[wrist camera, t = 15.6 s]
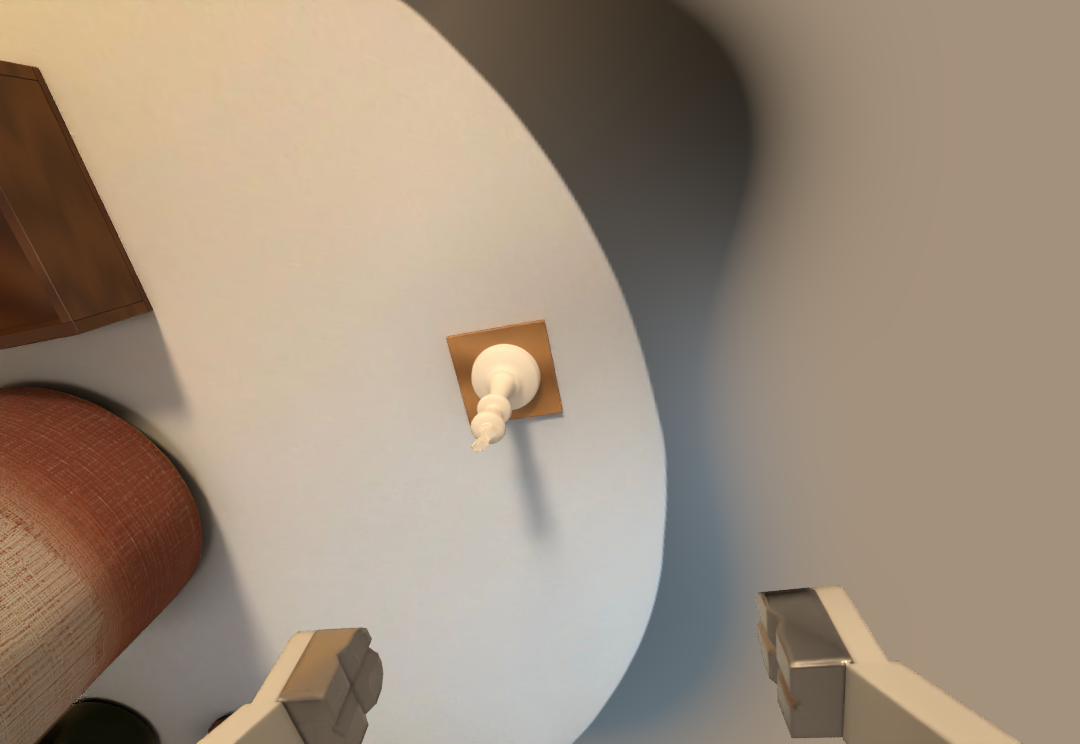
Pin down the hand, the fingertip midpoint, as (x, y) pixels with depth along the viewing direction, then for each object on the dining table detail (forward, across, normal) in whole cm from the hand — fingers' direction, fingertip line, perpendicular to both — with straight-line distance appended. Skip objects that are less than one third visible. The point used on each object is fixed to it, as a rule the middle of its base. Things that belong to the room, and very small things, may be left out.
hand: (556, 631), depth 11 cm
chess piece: (+26, +6, +4) cm, 27 cm away
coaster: (+26, +6, +4) cm, 27 cm away
